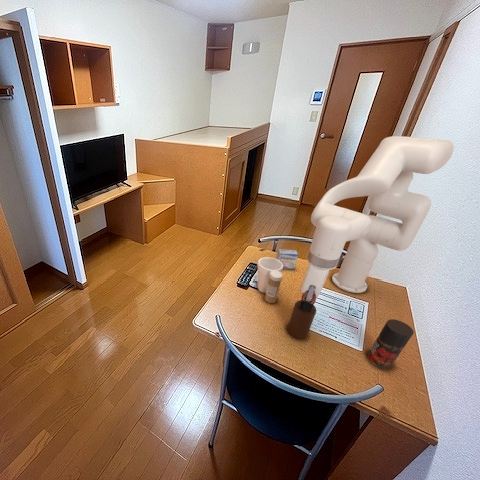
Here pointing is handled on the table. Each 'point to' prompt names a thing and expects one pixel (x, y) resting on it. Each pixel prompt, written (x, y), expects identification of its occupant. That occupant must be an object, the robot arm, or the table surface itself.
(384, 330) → the deodorant
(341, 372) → the table surface
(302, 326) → the sauce bottle
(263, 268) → the foam cup
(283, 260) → the medicine box
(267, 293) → the sprinkles bottle
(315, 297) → the cap
